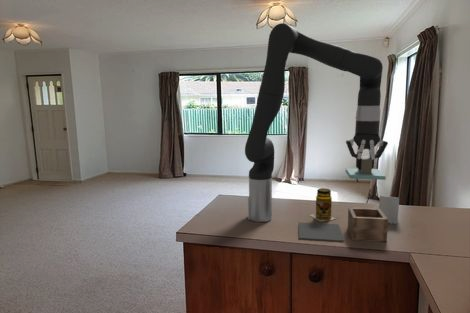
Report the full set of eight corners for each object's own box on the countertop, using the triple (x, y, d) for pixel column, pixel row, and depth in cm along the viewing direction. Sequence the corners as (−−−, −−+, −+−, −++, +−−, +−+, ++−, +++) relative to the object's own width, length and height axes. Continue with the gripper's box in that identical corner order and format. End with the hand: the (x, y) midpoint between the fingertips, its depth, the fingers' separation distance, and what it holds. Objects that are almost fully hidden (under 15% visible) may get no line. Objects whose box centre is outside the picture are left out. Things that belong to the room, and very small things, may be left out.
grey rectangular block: (397, 224, 125) (398, 199, 123) (378, 221, 129) (379, 196, 127) (397, 221, 128) (399, 196, 127) (379, 218, 132) (380, 194, 130)
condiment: (321, 222, 129) (322, 192, 127) (308, 215, 137) (309, 187, 135) (336, 219, 132) (337, 190, 130) (323, 212, 139) (323, 185, 137)
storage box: (352, 240, 112) (353, 217, 110) (347, 227, 122) (348, 207, 121) (386, 242, 110) (388, 219, 108) (378, 229, 120) (380, 208, 119)
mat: (298, 239, 113) (298, 237, 113) (298, 223, 128) (298, 222, 128) (344, 241, 110) (344, 240, 110) (338, 225, 125) (338, 224, 125)
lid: (350, 178, 109) (351, 160, 108) (345, 171, 119) (346, 154, 118) (385, 179, 107) (386, 161, 105) (377, 172, 117) (378, 155, 116)
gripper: (347, 120, 107) (345, 171, 110) (393, 120, 105) (389, 172, 108) (344, 118, 115) (342, 166, 117) (387, 118, 112) (383, 168, 115)
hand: (364, 169), depth 113 cm, fingers closed on lid, 3 cm apart
